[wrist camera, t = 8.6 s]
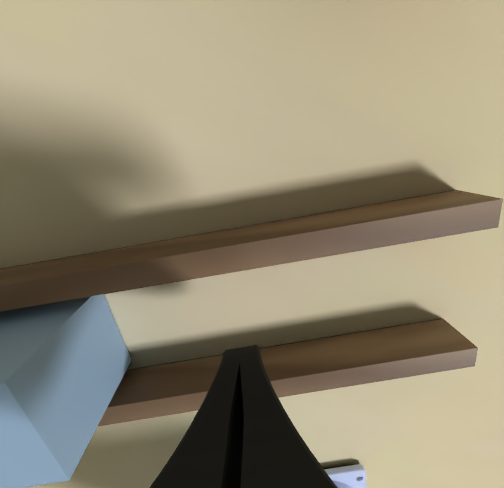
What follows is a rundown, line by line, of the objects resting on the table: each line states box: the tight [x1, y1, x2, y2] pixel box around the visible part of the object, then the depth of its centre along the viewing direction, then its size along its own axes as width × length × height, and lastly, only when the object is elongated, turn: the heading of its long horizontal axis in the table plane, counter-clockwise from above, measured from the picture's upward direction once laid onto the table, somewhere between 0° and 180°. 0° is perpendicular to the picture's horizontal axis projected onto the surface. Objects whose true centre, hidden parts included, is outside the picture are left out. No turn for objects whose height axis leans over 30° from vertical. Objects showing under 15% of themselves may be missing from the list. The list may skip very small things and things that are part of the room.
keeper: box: [0, 294, 131, 488], centre depth 12 cm, size 5×5×6 cm
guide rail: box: [0, 190, 503, 426], centre depth 13 cm, size 9×25×4 cm, turn 100°
